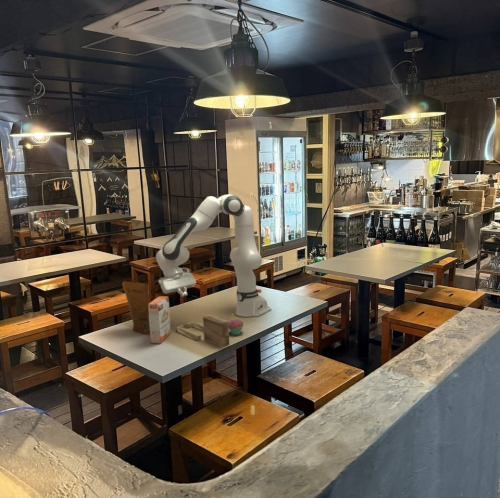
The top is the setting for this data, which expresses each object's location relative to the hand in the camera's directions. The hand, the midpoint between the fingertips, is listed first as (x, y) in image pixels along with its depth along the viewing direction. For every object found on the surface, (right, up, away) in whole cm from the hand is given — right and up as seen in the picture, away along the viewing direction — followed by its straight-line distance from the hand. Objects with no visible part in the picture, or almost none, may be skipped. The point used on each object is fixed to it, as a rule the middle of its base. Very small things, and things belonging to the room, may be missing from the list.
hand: (184, 295), depth 244 cm
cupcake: (+27, -20, -5) cm, 34 cm away
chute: (+6, -20, -2) cm, 21 cm away
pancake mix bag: (-24, -20, +3) cm, 31 cm away
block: (+18, -22, -15) cm, 32 cm away
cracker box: (-11, -22, -8) cm, 26 cm away
